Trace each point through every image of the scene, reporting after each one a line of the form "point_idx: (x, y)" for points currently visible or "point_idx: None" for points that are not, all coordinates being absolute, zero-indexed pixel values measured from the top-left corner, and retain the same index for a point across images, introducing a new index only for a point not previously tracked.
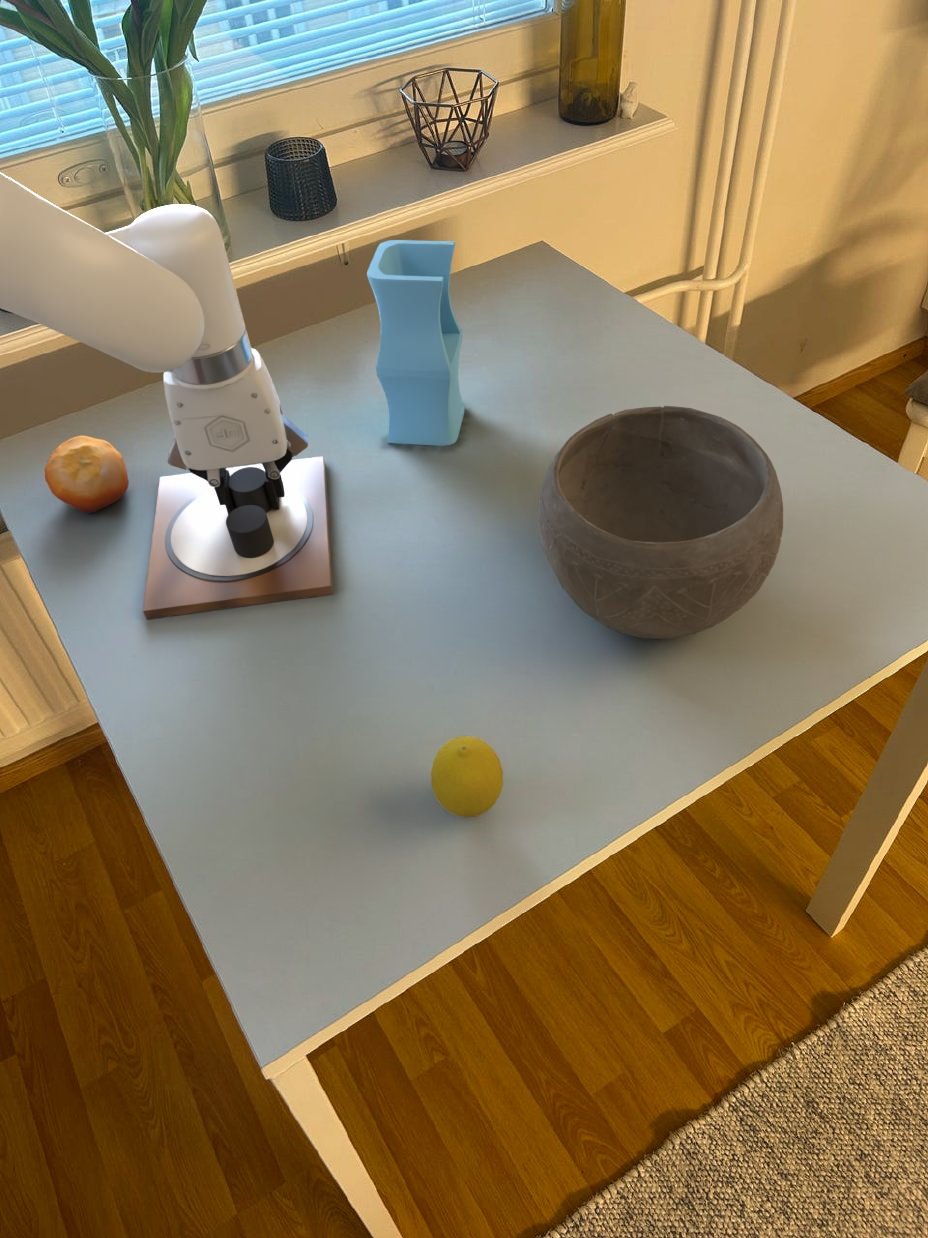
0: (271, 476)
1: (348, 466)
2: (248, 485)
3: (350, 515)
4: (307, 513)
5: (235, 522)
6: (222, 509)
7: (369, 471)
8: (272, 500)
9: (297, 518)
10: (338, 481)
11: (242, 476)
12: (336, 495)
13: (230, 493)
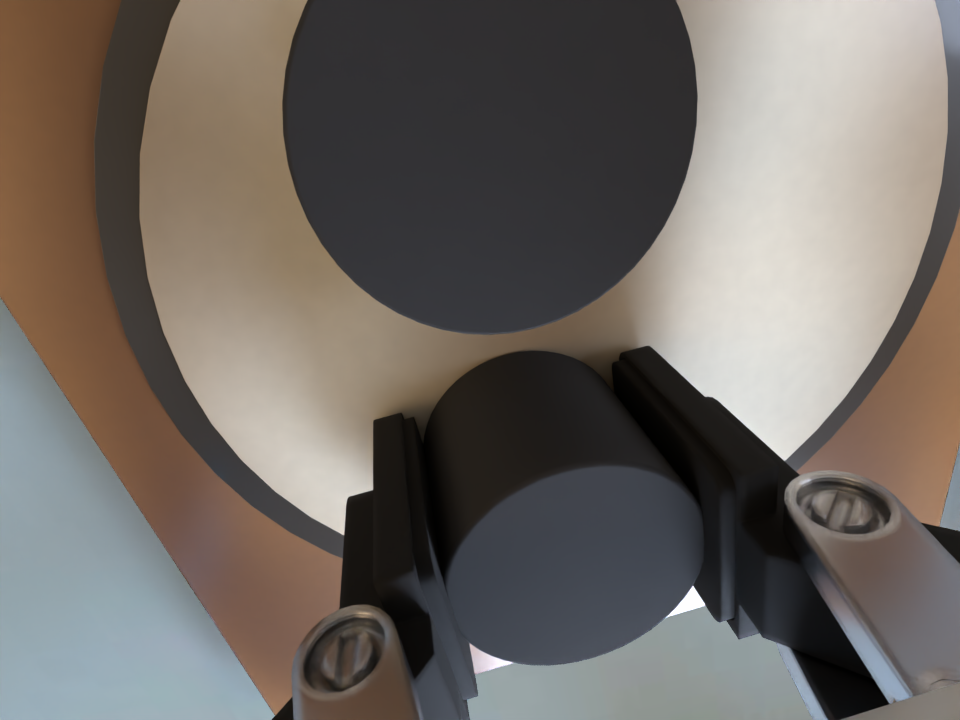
0: (378, 627)
1: (185, 694)
2: (560, 526)
3: (11, 449)
4: (200, 413)
5: (601, 74)
6: None
7: (71, 689)
8: (397, 453)
9: (243, 368)
10: (191, 623)
11: (615, 590)
12: (161, 555)
13: (671, 460)
